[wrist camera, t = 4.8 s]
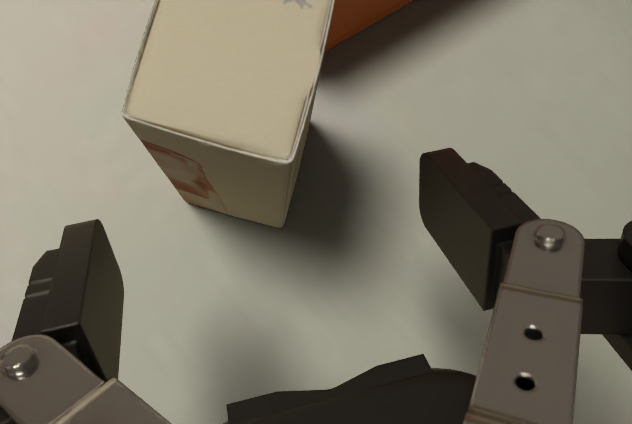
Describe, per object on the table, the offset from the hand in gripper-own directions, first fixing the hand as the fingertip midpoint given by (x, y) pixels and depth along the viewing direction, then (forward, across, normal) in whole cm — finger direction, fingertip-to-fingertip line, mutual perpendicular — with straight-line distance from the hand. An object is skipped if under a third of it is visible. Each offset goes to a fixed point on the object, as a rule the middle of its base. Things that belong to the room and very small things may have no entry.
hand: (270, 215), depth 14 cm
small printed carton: (+9, 0, +4) cm, 10 cm away
